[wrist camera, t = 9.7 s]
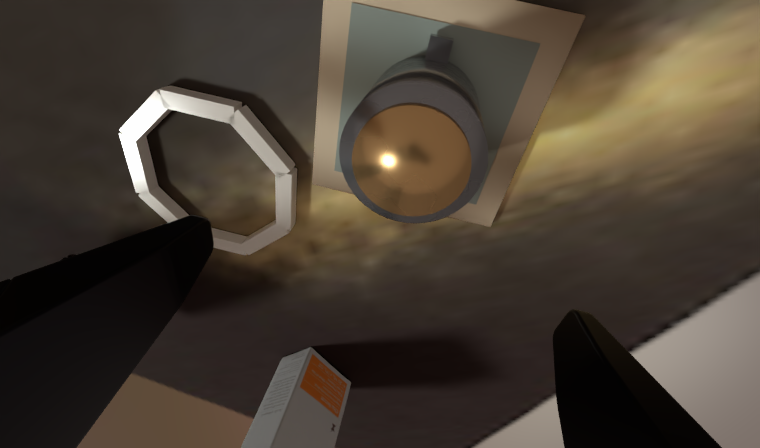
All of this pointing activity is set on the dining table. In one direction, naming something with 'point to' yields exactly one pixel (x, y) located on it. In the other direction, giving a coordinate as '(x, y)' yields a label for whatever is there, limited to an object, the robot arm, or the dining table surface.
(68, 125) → the dining table surface
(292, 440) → the skincare box
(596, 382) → the robot arm
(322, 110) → the coaster board
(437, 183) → the round spotlight head
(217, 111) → the collar
